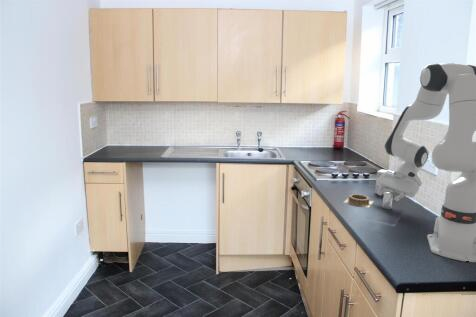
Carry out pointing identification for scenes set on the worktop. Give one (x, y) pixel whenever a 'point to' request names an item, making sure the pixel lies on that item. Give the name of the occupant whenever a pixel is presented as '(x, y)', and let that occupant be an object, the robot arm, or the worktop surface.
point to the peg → (387, 200)
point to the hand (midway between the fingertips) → (387, 197)
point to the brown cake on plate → (359, 200)
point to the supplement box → (377, 178)
